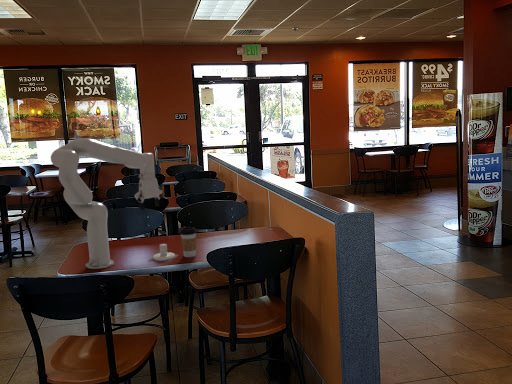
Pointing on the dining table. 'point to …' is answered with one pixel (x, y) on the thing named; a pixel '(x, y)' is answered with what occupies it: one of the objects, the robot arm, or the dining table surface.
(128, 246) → the dining table surface
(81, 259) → the dining table surface
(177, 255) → the mat
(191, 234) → the coffee cup
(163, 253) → the lid
